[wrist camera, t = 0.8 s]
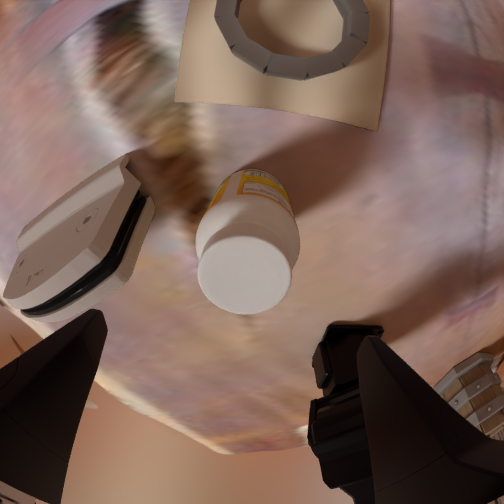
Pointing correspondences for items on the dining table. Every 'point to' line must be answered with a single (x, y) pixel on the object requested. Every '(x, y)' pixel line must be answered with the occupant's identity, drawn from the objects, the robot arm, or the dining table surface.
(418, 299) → the dining table surface
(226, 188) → the supplement bottle
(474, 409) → the tankard
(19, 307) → the grey piece
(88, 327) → the robot arm
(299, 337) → the dining table surface
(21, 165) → the dining table surface
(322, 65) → the ring holder
